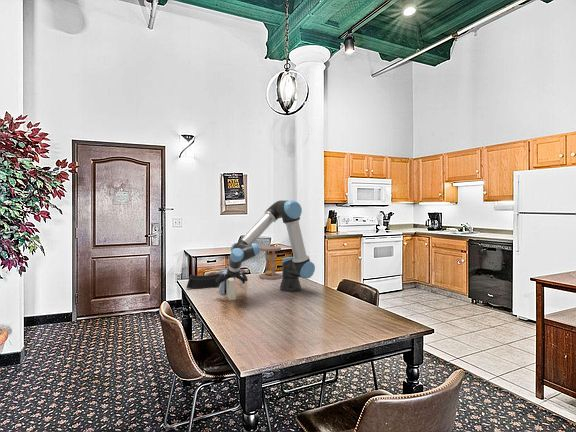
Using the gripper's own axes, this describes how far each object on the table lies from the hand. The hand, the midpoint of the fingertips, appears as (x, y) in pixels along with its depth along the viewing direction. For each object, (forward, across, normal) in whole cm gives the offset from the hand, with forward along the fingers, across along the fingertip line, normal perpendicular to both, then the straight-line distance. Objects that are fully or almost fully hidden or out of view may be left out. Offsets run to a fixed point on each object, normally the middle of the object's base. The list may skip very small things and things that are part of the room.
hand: (230, 286), depth 238 cm
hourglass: (+42, +41, +32) cm, 67 cm away
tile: (+3, 0, -6) cm, 7 cm away
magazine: (+26, -11, +16) cm, 33 cm away
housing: (+13, 0, +4) cm, 14 cm away
